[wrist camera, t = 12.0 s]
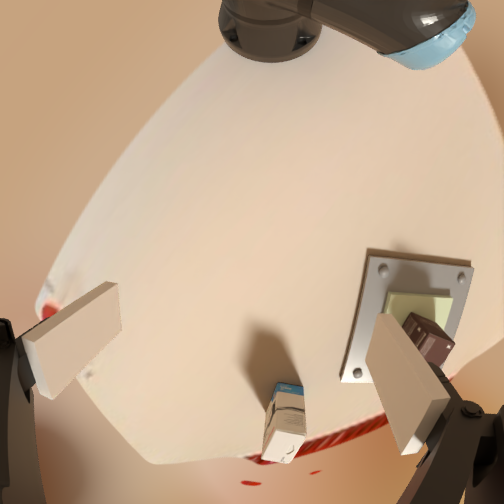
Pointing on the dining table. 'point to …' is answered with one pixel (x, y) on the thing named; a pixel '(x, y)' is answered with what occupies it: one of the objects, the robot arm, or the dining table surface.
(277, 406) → the ink box
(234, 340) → the dining table surface
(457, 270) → the board
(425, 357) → the box
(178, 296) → the dining table surface
